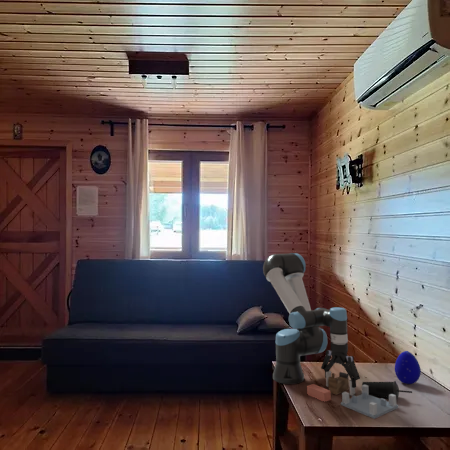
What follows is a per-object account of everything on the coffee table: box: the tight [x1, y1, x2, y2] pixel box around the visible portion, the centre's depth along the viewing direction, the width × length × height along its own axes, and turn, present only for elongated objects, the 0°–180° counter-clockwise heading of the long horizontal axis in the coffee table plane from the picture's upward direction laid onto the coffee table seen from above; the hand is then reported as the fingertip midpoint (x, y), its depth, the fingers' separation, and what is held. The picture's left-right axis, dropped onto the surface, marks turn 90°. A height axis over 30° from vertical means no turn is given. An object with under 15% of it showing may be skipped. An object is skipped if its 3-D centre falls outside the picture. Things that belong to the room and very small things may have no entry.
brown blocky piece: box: [328, 371, 350, 396], centre depth 185 cm, size 10×4×9 cm, turn 132°
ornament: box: [394, 350, 422, 385], centre depth 192 cm, size 11×9×15 cm
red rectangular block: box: [306, 383, 332, 403], centre depth 178 cm, size 10×4×4 cm, turn 34°
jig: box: [340, 384, 399, 420], centre depth 168 cm, size 16×16×5 cm
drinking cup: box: [361, 381, 413, 401], centre depth 176 cm, size 8×8×20 cm
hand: (340, 390), depth 185 cm, fingers open, 12 cm apart
